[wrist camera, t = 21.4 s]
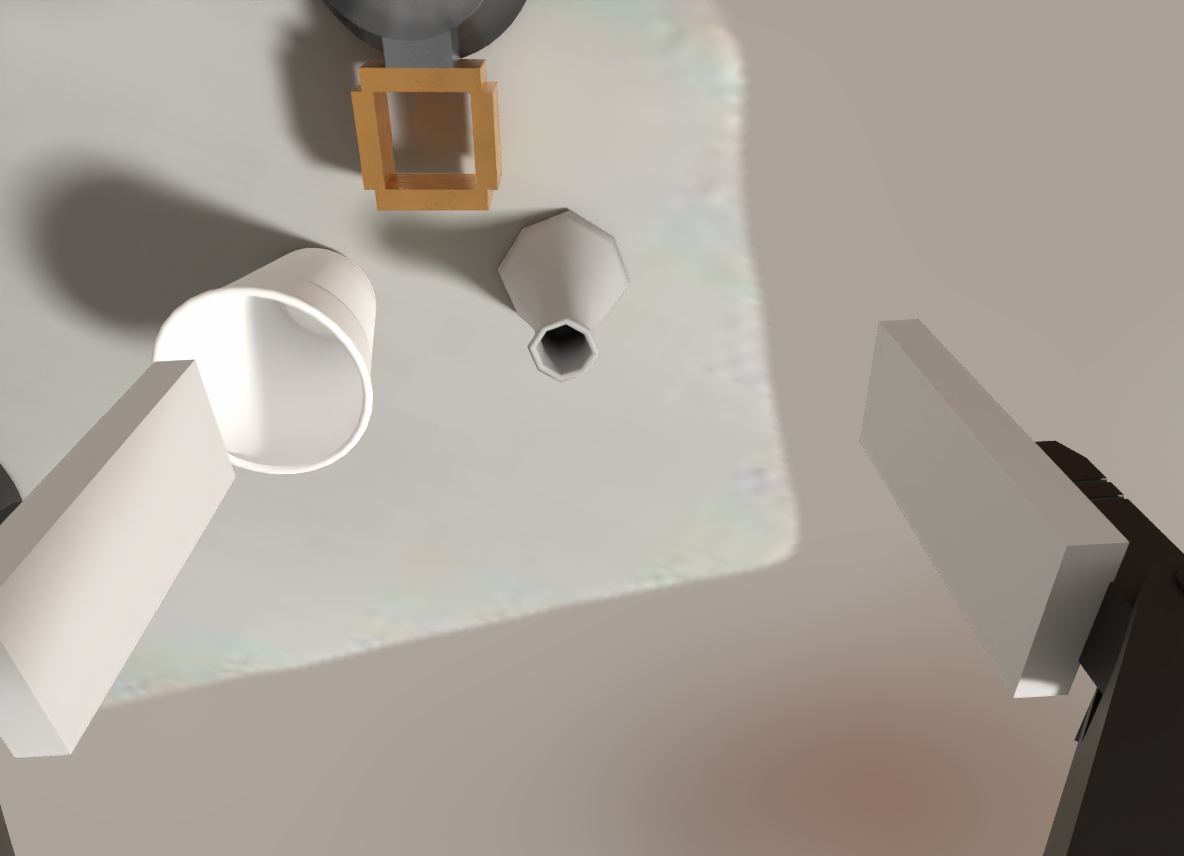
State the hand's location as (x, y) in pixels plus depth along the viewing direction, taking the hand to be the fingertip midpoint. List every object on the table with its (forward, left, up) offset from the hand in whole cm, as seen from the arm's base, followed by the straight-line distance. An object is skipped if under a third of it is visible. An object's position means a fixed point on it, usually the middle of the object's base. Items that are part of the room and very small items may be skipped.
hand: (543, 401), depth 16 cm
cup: (-14, -10, -30) cm, 35 cm away
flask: (0, -9, -30) cm, 32 cm away
